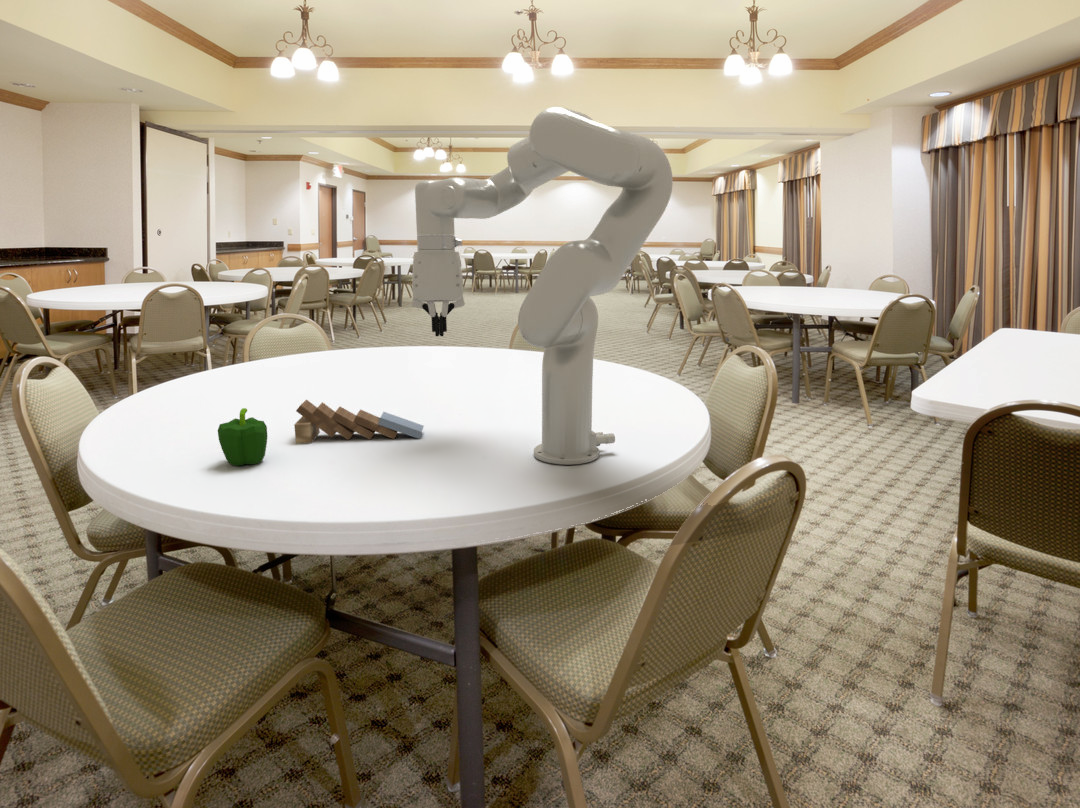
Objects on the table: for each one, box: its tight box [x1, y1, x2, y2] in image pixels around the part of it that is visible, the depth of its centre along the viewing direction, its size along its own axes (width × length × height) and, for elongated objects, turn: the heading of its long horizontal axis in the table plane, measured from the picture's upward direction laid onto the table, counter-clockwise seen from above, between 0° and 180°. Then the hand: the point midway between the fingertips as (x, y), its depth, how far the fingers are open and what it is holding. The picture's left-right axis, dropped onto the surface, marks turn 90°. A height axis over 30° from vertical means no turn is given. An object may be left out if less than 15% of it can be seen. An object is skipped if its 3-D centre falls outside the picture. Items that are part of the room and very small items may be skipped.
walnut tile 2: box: [331, 406, 376, 441], centre depth 148 cm, size 2×5×9 cm
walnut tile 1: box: [354, 408, 399, 440], centre depth 149 cm, size 2×5×9 cm
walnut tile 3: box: [313, 402, 356, 441], centre depth 148 cm, size 2×5×9 cm
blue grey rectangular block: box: [378, 411, 425, 440], centre depth 149 cm, size 2×5×9 cm
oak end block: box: [294, 415, 321, 444], centre depth 148 cm, size 3×8×4 cm, turn 4°
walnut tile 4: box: [295, 399, 337, 438], centre depth 148 cm, size 2×5×9 cm
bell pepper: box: [217, 407, 268, 467], centre depth 131 cm, size 8×8×10 cm
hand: (439, 335), depth 147 cm, fingers closed
